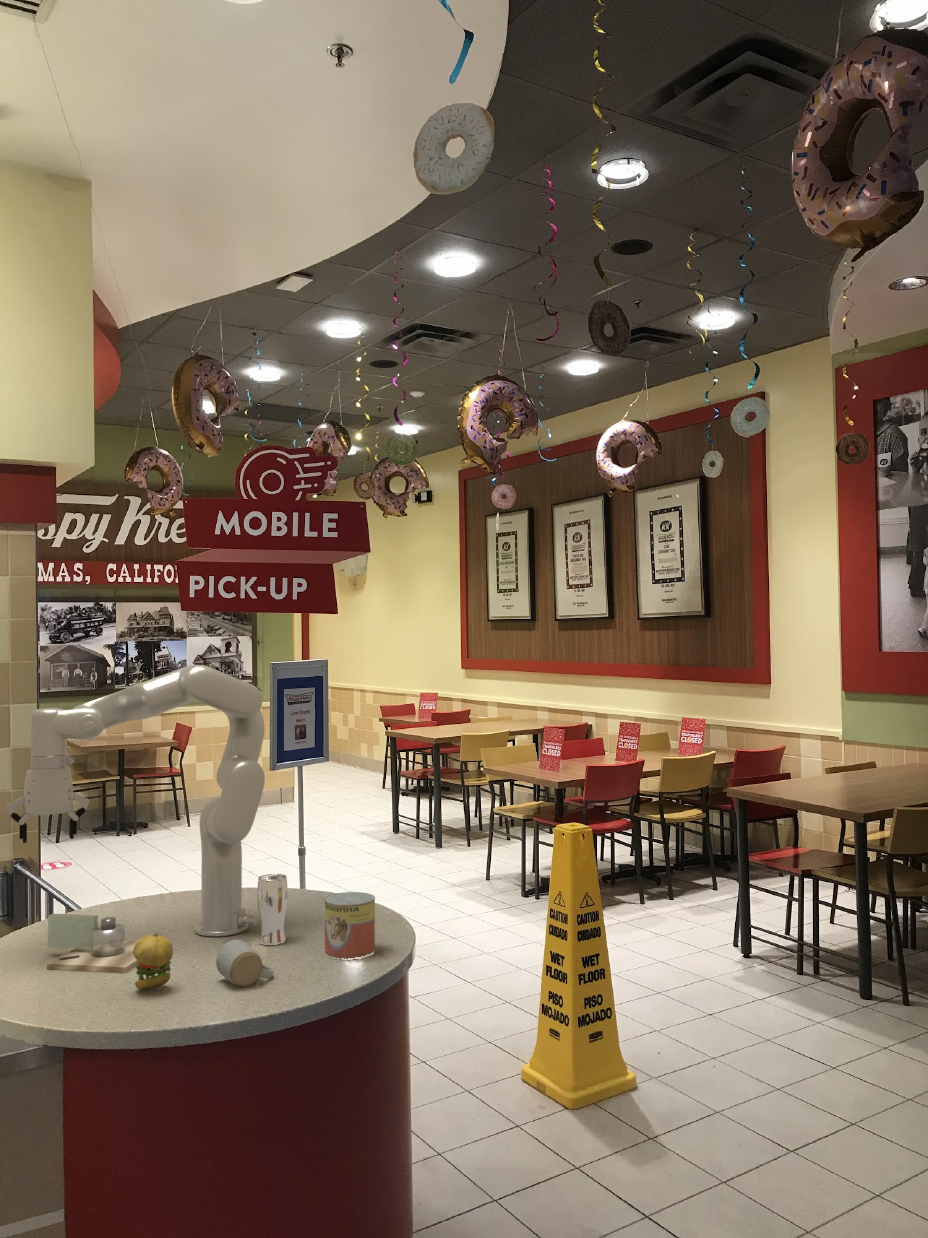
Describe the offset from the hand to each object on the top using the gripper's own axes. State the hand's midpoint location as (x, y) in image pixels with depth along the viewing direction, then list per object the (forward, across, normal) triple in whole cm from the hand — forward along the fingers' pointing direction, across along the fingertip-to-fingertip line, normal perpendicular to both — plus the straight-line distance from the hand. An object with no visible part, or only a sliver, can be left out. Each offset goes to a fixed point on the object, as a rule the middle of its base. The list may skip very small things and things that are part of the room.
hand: (48, 840), depth 213 cm
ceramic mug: (+26, -35, +38) cm, 58 cm away
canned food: (+26, -60, +31) cm, 72 cm away
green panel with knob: (+24, -8, +6) cm, 26 cm away
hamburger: (+26, -17, +35) cm, 47 cm away
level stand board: (+26, -12, +9) cm, 29 cm away
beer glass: (+26, -47, +15) cm, 56 cm away
